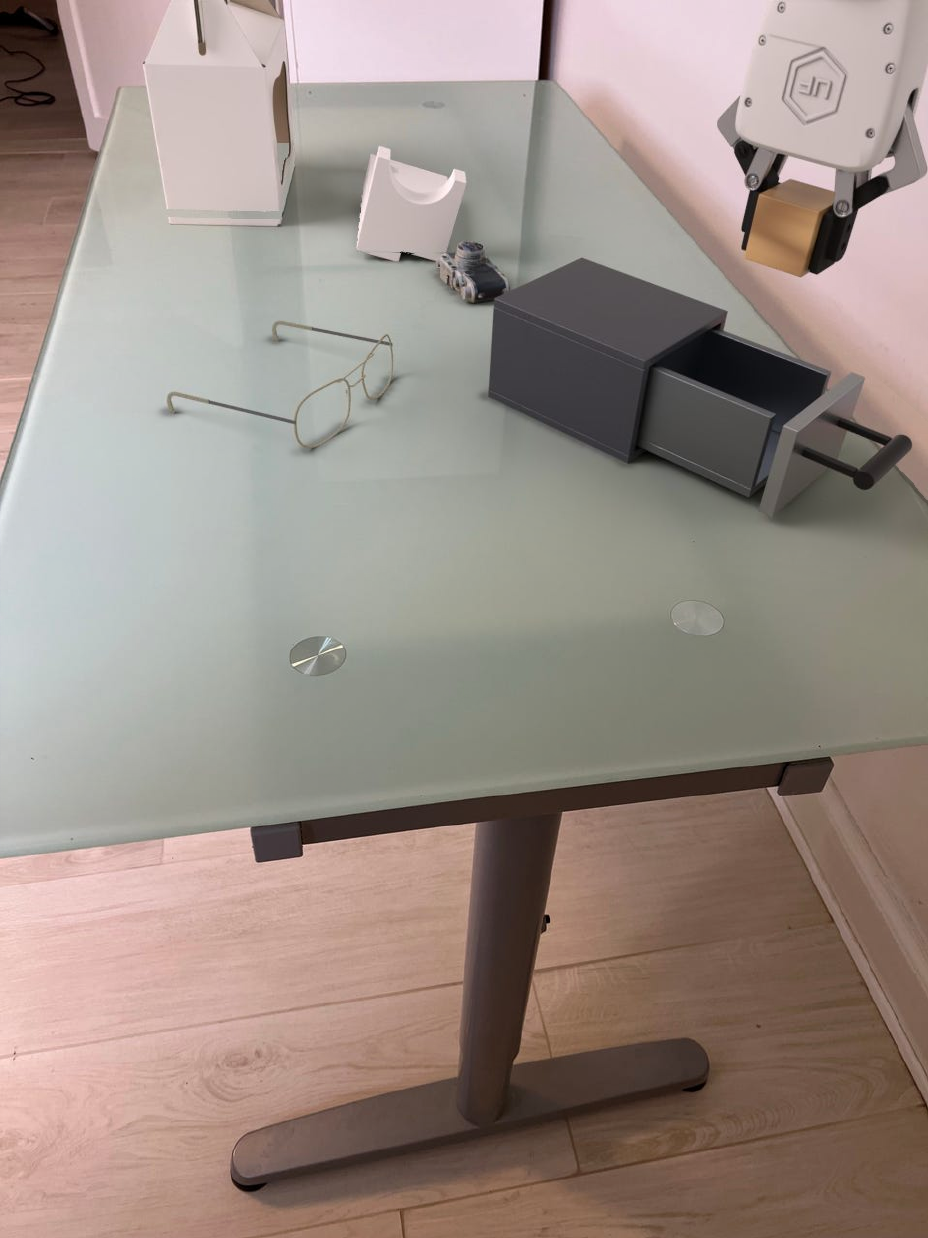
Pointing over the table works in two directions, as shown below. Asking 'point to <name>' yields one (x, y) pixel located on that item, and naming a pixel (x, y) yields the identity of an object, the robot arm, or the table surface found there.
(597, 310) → the cabinet
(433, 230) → the white notched cradle
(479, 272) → the camera
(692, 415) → the pull-out drawer
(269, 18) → the gable box
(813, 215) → the block
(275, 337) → the eyeglasses
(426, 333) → the table surface
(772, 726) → the table surface
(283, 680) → the table surface
